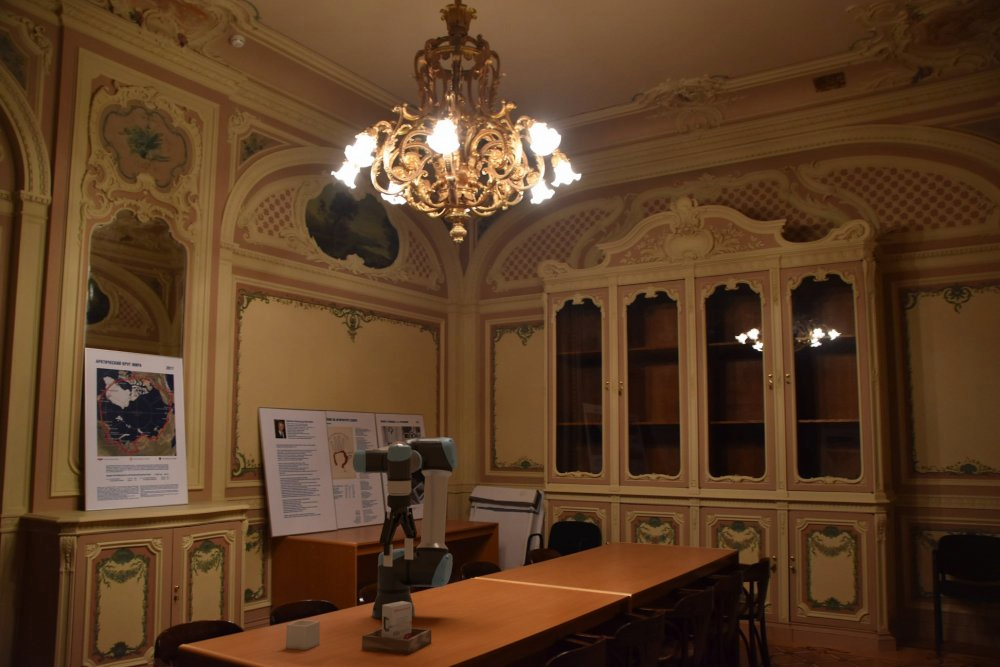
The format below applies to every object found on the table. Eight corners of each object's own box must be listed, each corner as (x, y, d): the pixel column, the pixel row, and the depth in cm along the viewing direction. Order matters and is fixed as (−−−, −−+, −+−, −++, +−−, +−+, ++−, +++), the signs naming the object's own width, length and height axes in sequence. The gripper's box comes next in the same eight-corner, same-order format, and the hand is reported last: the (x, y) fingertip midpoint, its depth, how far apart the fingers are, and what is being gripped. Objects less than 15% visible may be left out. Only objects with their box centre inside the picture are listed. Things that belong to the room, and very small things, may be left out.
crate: (386, 638, 265) (386, 625, 266) (431, 642, 260) (431, 629, 260) (361, 649, 252) (362, 635, 252) (408, 654, 246) (408, 640, 246)
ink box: (401, 639, 260) (402, 600, 262) (412, 641, 257) (413, 602, 258) (380, 644, 254) (381, 604, 255) (391, 647, 250) (391, 606, 252)
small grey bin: (300, 642, 260) (300, 619, 261) (319, 644, 257) (319, 621, 258) (286, 648, 254) (286, 624, 254) (305, 650, 251) (306, 626, 252)
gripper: (407, 490, 275) (406, 555, 273) (368, 497, 252) (367, 568, 250) (427, 491, 272) (427, 557, 270) (390, 498, 249) (389, 570, 247)
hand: (398, 562), depth 260 cm, fingers open, 13 cm apart
